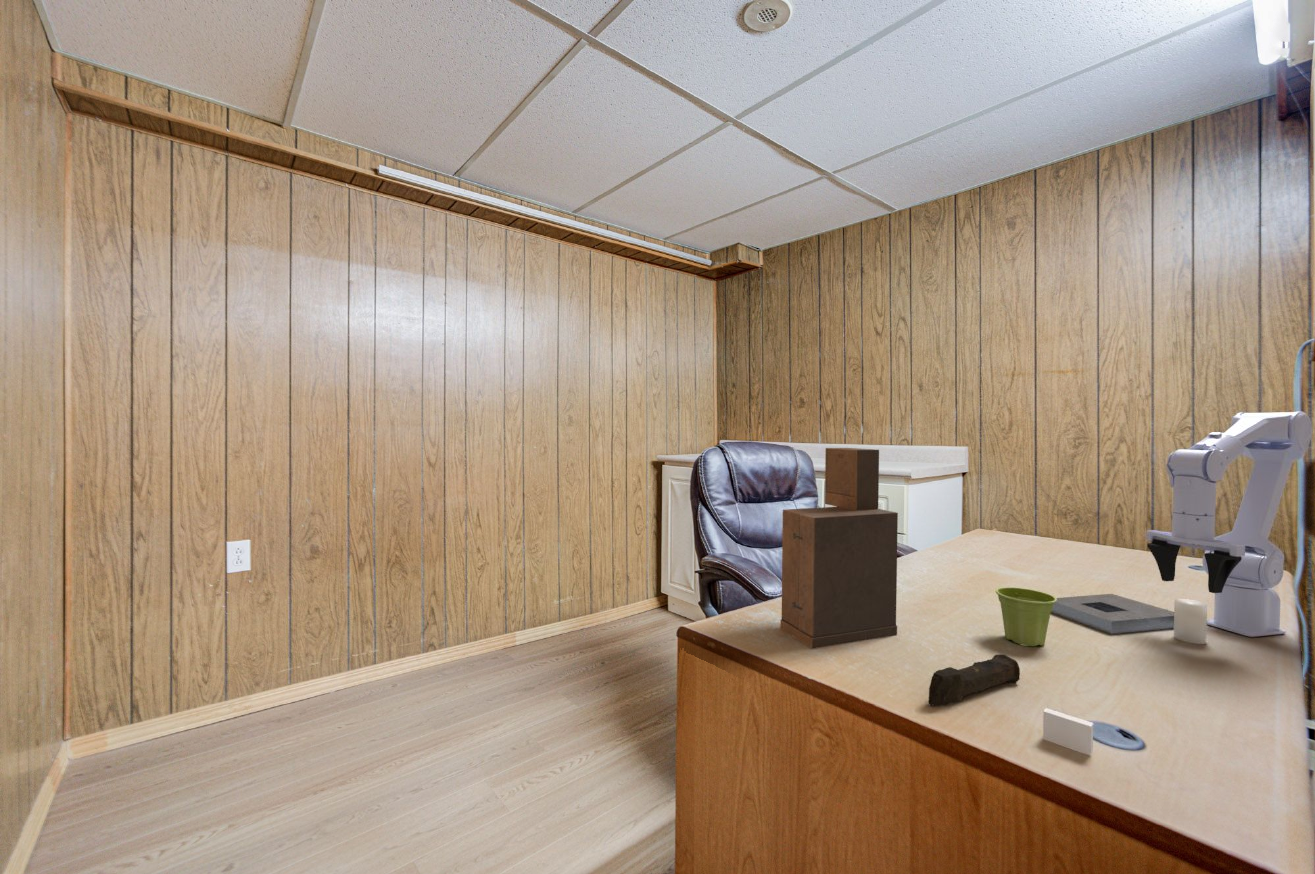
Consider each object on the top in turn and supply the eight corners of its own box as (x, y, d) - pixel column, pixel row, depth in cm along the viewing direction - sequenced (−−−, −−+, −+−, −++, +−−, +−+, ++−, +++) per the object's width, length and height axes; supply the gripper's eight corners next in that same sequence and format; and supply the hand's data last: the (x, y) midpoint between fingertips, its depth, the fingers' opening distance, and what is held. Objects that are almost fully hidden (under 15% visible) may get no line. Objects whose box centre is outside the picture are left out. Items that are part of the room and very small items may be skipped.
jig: (1111, 604, 123) (1111, 593, 123) (1183, 627, 109) (1183, 614, 109) (1045, 610, 119) (1045, 598, 119) (1111, 634, 105) (1111, 621, 105)
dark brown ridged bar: (995, 674, 88) (995, 646, 88) (1021, 685, 85) (1021, 655, 85) (912, 700, 80) (913, 668, 80) (937, 713, 77) (937, 679, 77)
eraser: (1091, 756, 66) (1091, 726, 66) (1042, 739, 70) (1043, 711, 70) (1092, 752, 67) (1093, 722, 67) (1045, 736, 71) (1045, 707, 71)
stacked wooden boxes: (847, 611, 118) (849, 447, 117) (897, 635, 104) (899, 450, 104) (769, 621, 111) (771, 448, 110) (812, 648, 98) (814, 451, 97)
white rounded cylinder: (1185, 634, 106) (1186, 598, 105) (1212, 643, 101) (1213, 605, 101) (1167, 636, 105) (1168, 599, 105) (1194, 645, 100) (1195, 607, 100)
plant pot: (994, 627, 108) (995, 584, 108) (1053, 637, 104) (1054, 591, 103) (995, 643, 100) (995, 596, 100) (1058, 655, 96) (1059, 605, 95)
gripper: (1135, 508, 109) (1132, 576, 109) (1224, 520, 95) (1221, 599, 95) (1162, 508, 110) (1160, 575, 111) (1255, 520, 96) (1252, 597, 96)
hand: (1190, 586), depth 103 cm, fingers open, 7 cm apart
